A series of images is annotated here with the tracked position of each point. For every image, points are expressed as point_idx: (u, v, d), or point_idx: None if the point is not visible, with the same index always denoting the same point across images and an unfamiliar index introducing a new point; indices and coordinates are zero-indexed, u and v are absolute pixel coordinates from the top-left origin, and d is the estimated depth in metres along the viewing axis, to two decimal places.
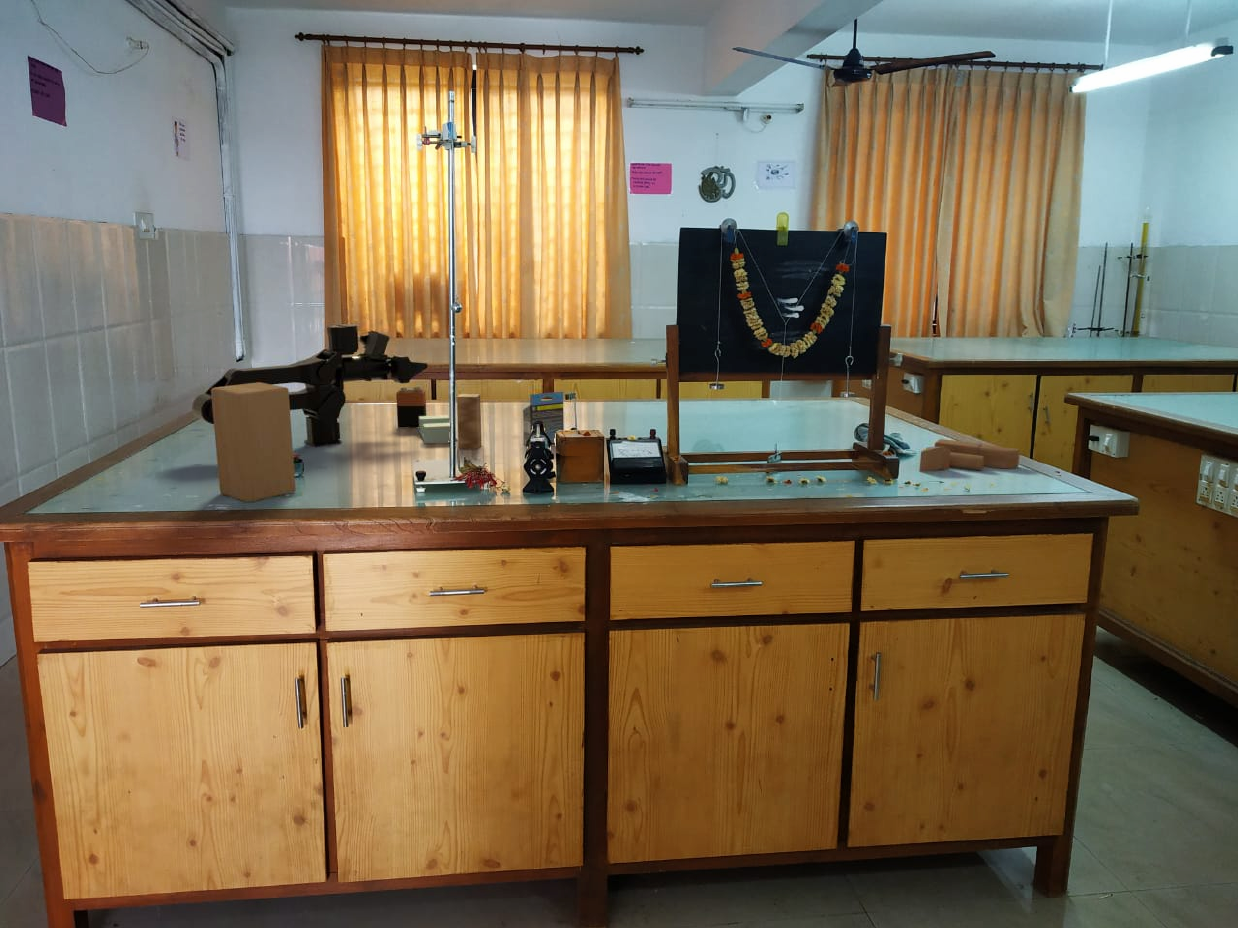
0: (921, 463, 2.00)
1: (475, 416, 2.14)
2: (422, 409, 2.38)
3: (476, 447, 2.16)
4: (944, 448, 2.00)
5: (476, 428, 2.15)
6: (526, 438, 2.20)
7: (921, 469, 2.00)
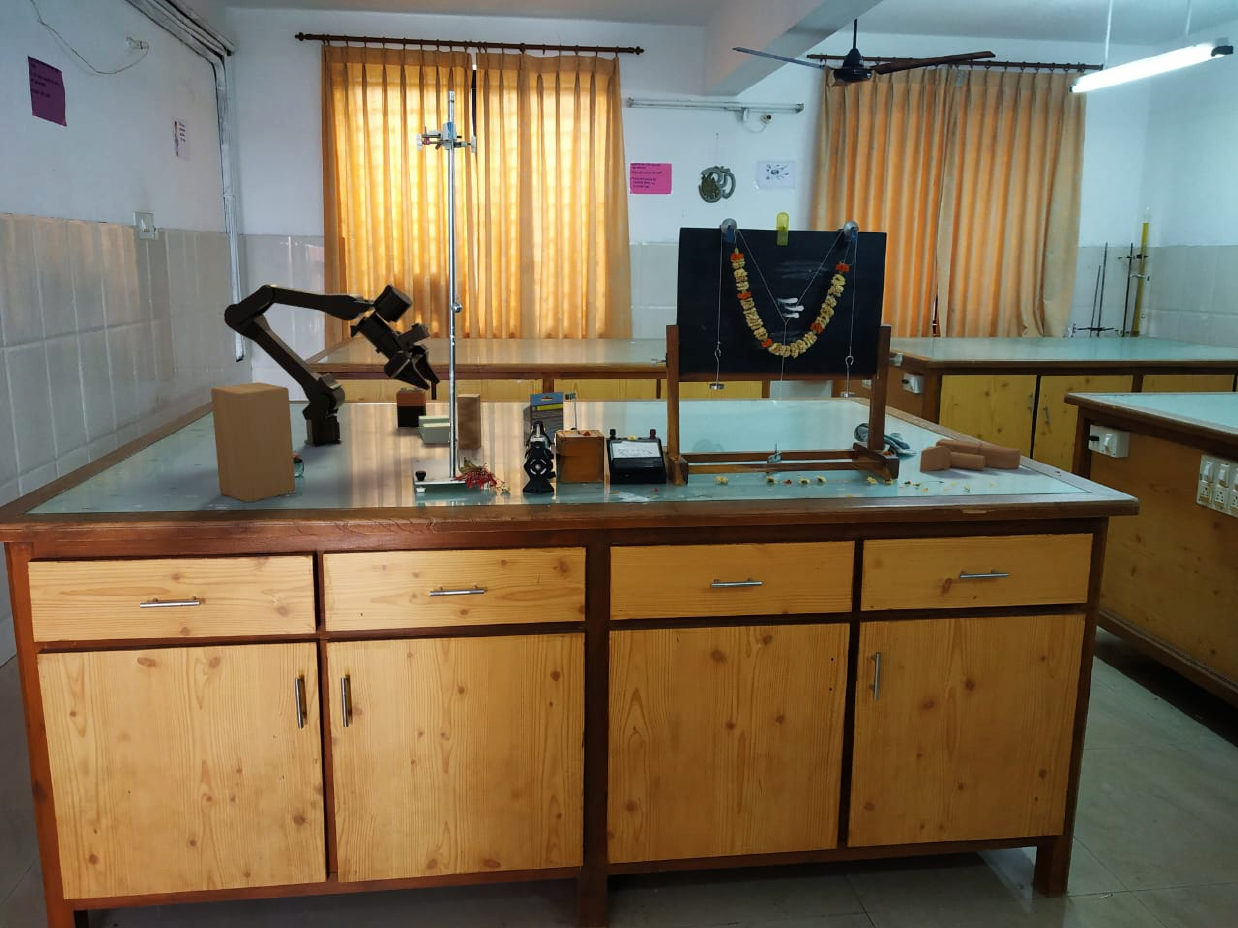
0: (921, 463, 1.99)
1: (475, 416, 2.14)
2: (422, 409, 2.38)
3: (476, 447, 2.16)
4: (945, 448, 2.00)
5: (476, 428, 2.15)
6: (526, 438, 2.20)
7: (921, 469, 2.00)
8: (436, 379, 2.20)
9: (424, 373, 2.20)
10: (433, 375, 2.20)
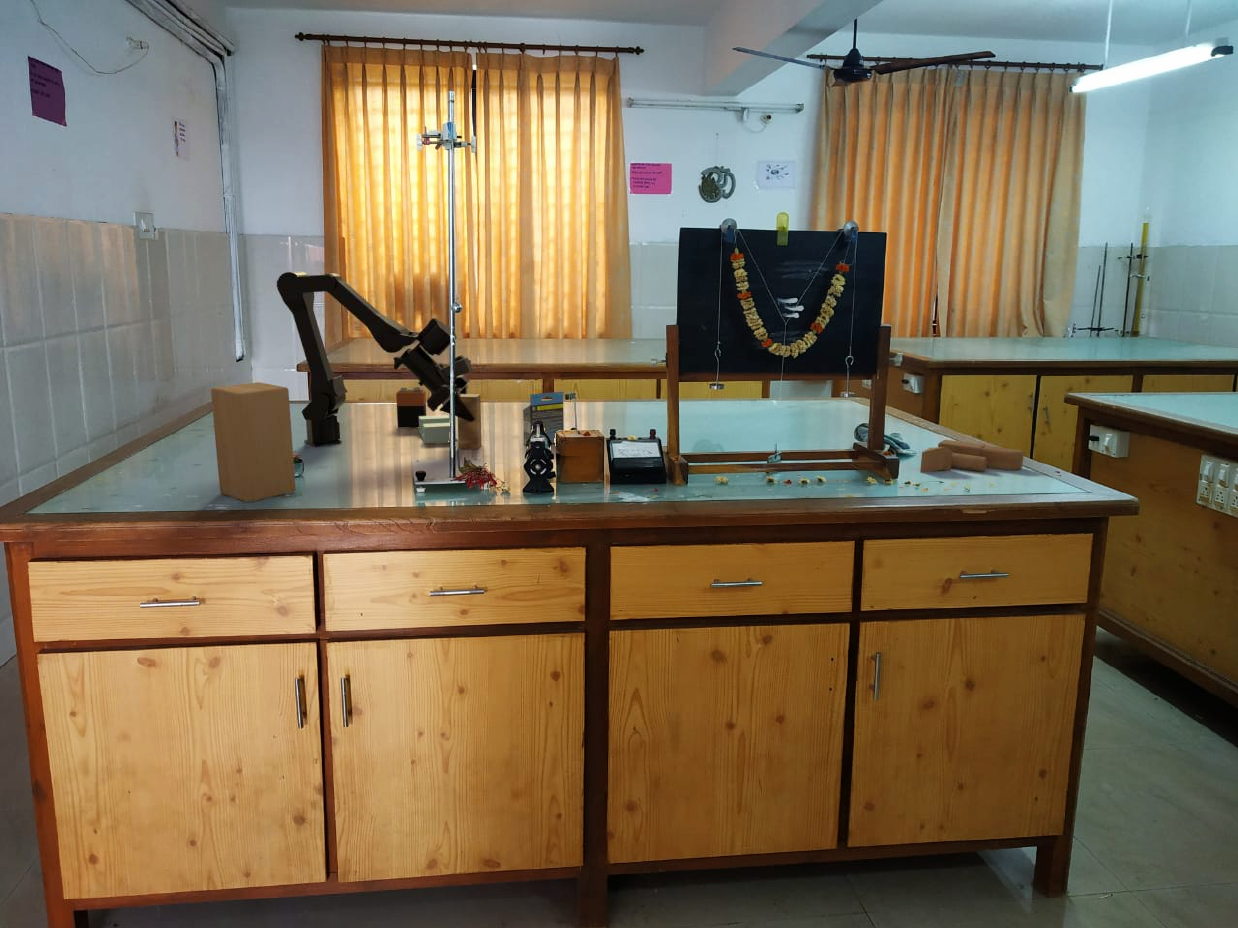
0: (922, 463, 1.99)
1: (475, 416, 2.14)
2: (422, 409, 2.38)
3: (476, 447, 2.16)
4: (946, 449, 1.99)
5: (476, 428, 2.15)
6: (526, 438, 2.20)
7: (921, 470, 1.99)
8: None
9: None
10: None
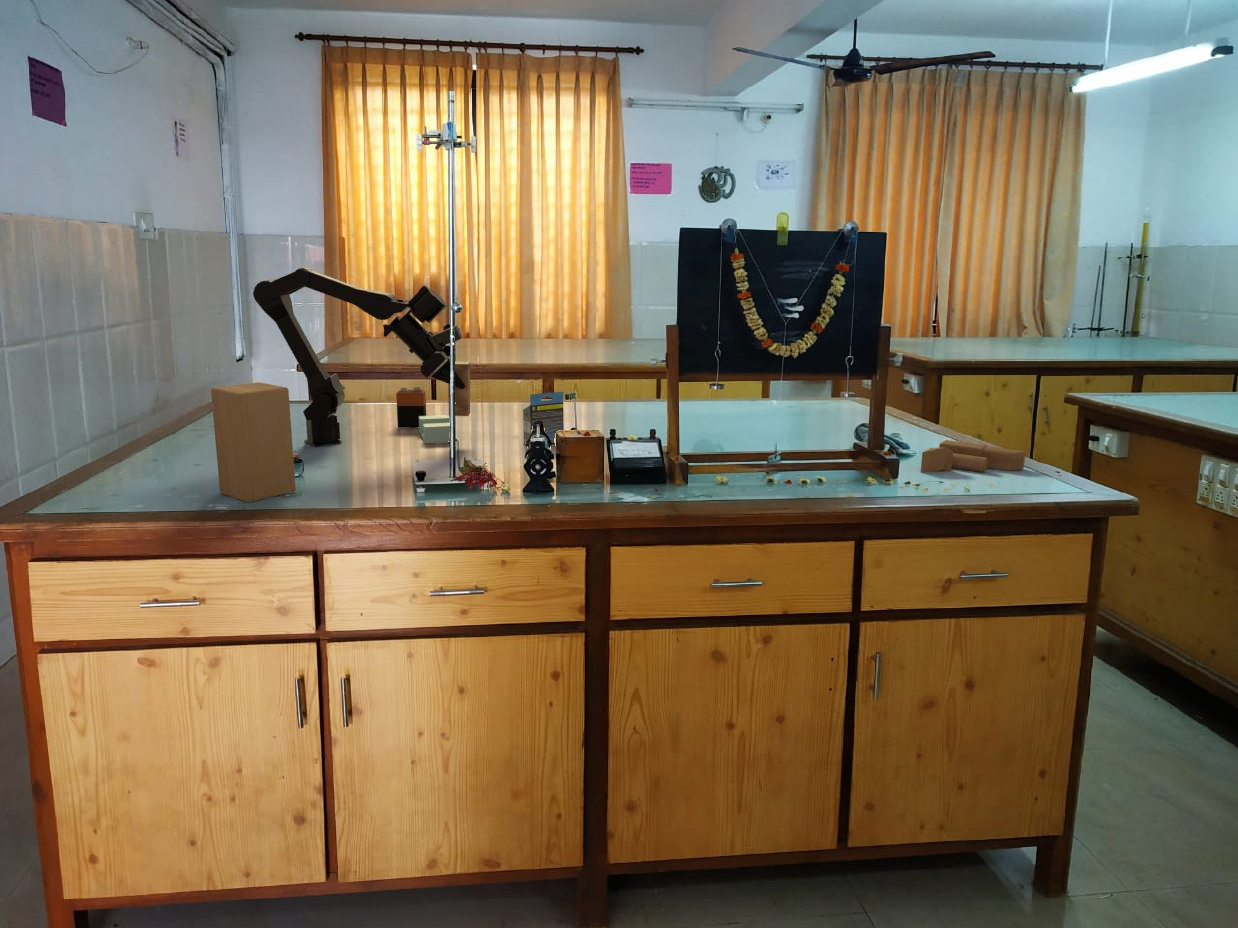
0: (922, 464, 1.99)
1: (466, 383, 2.17)
2: (422, 409, 2.38)
3: (467, 414, 2.18)
4: (946, 449, 1.99)
5: (467, 395, 2.17)
6: (526, 438, 2.20)
7: (922, 470, 1.99)
8: None
9: None
10: None
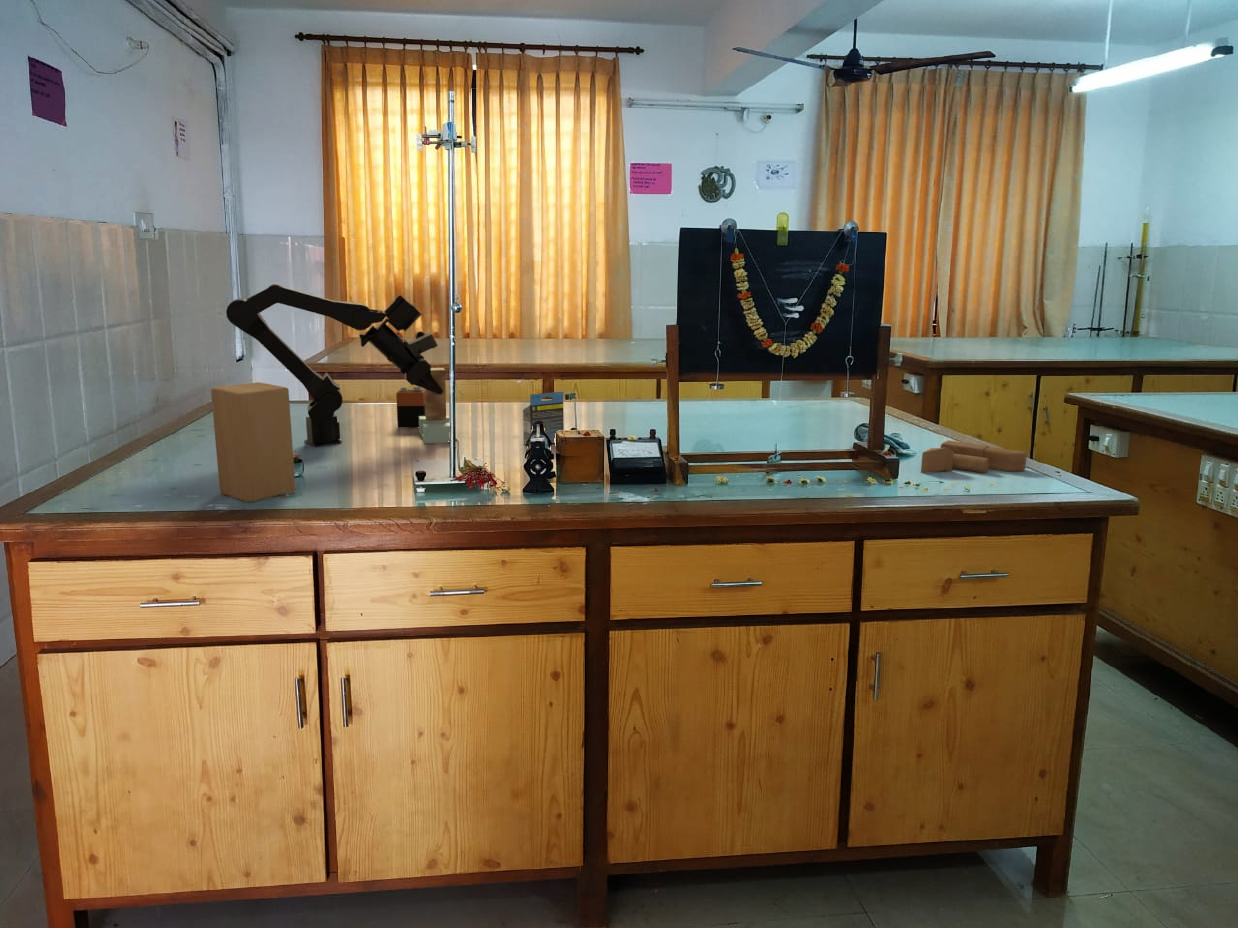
0: (923, 464, 1.99)
1: (444, 388, 2.24)
2: (422, 409, 2.38)
3: (445, 418, 2.26)
4: (947, 449, 1.99)
5: (444, 400, 2.25)
6: (526, 438, 2.20)
7: (922, 470, 1.99)
8: None
9: None
10: None
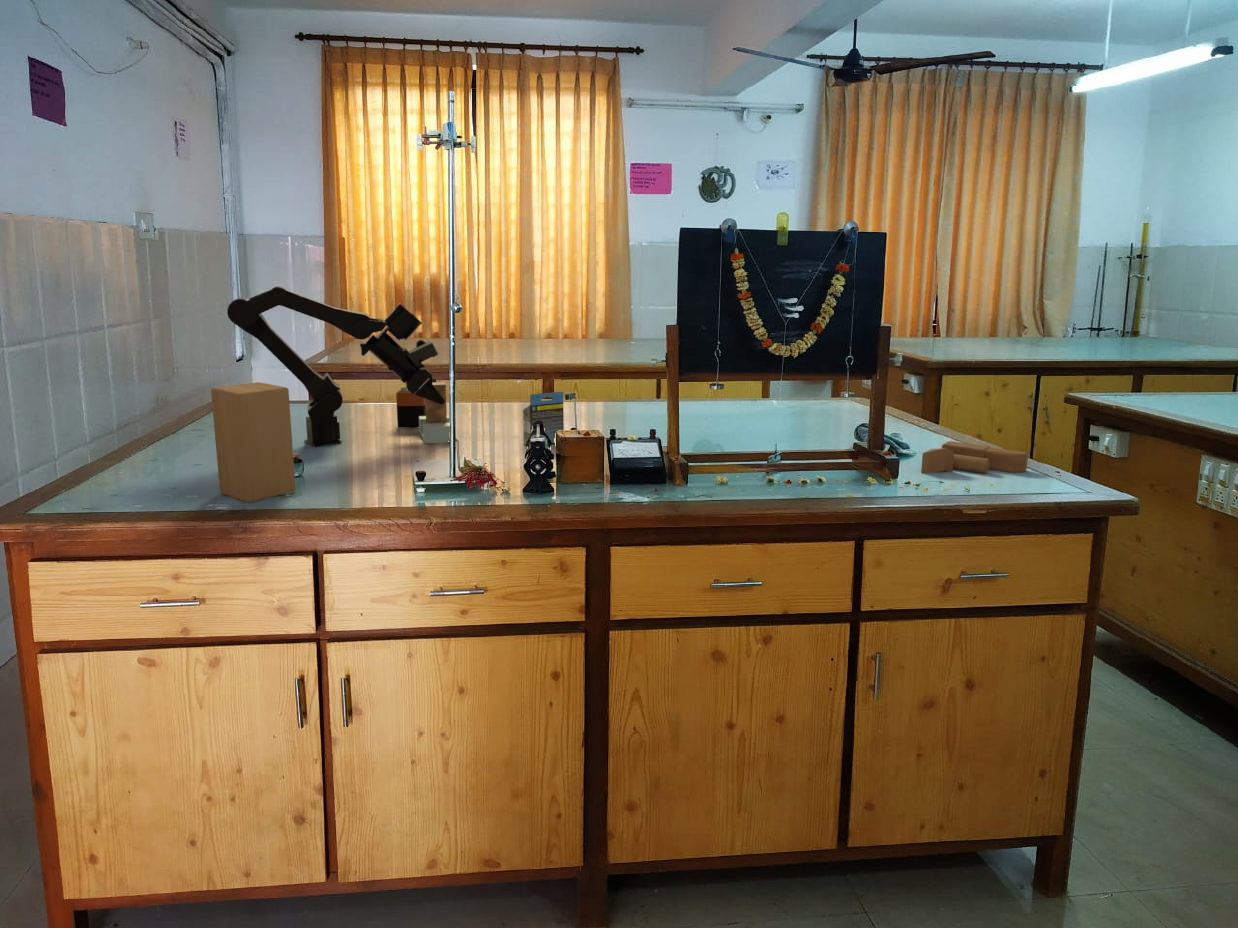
0: (923, 464, 1.98)
1: (444, 403, 2.25)
2: (422, 409, 2.38)
3: None
4: (947, 450, 1.99)
5: (445, 414, 2.26)
6: (526, 438, 2.20)
7: (922, 471, 1.99)
8: None
9: None
10: None
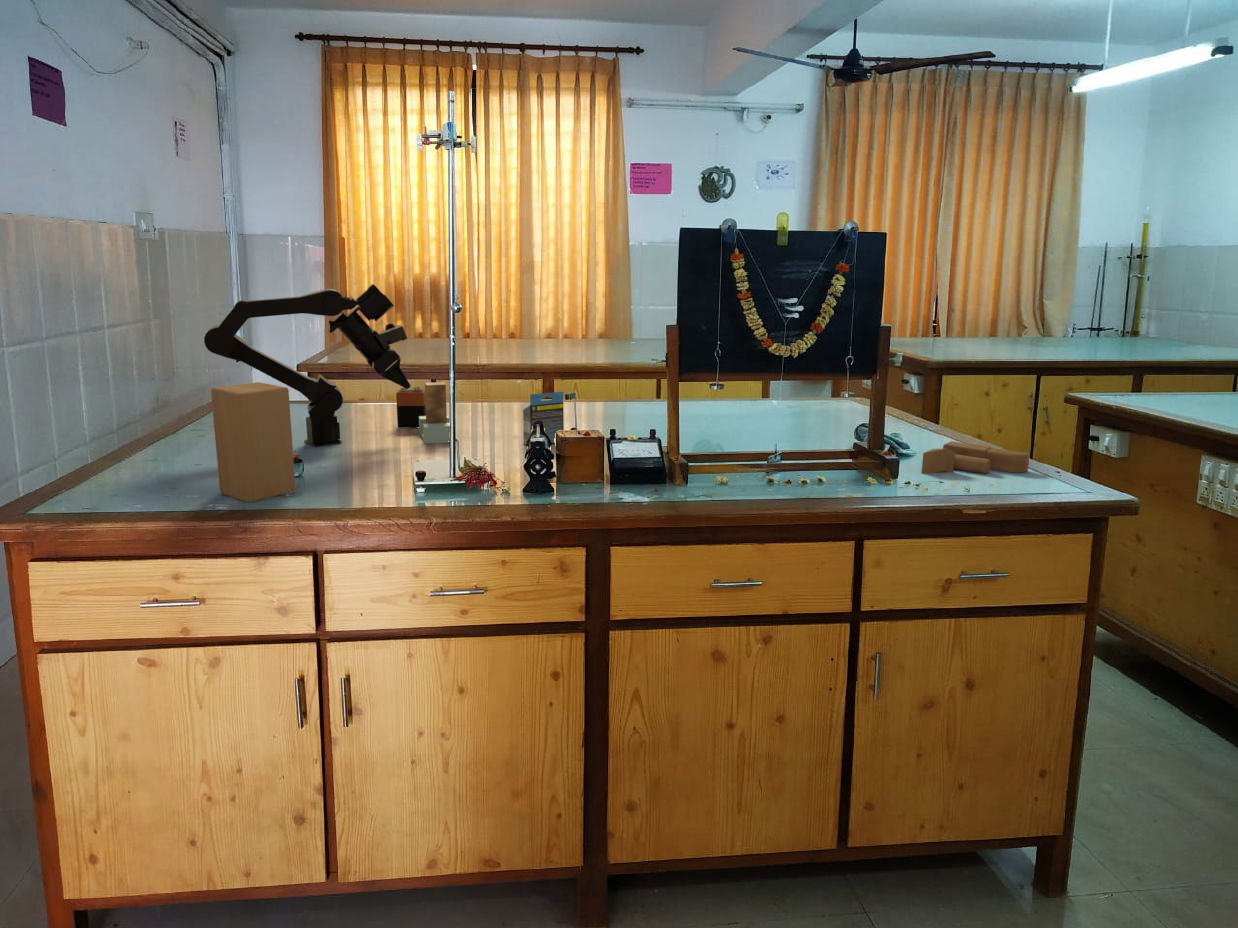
0: (923, 464, 1.98)
1: (444, 403, 2.25)
2: (422, 409, 2.38)
3: None
4: (948, 450, 1.98)
5: (445, 414, 2.26)
6: (526, 438, 2.20)
7: (923, 471, 1.98)
8: None
9: None
10: None
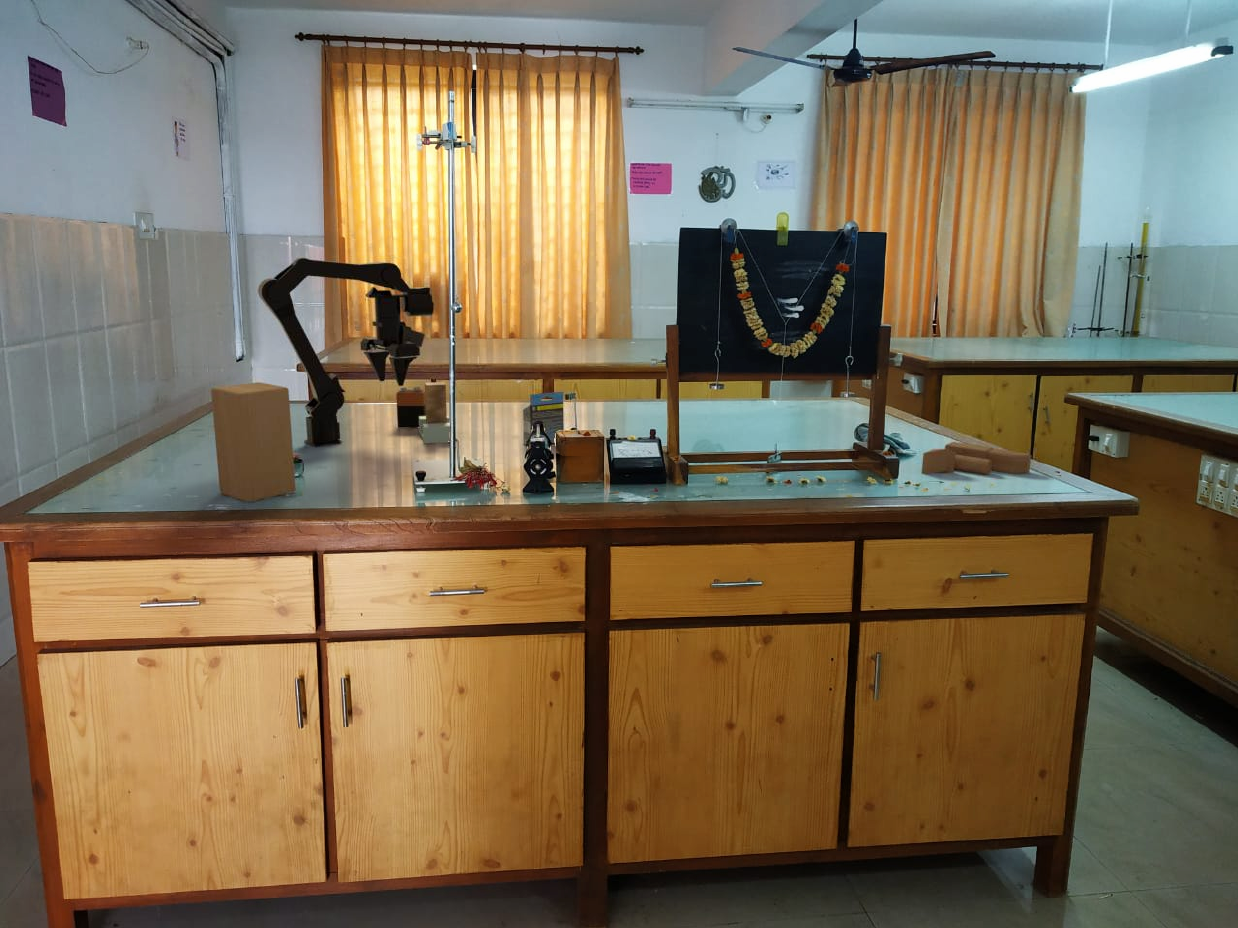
0: (923, 465, 1.98)
1: (444, 403, 2.25)
2: (422, 409, 2.38)
3: None
4: (948, 450, 1.98)
5: (445, 414, 2.26)
6: (526, 438, 2.20)
7: (923, 471, 1.98)
8: (383, 377, 2.28)
9: (377, 365, 2.27)
10: (383, 372, 2.28)
